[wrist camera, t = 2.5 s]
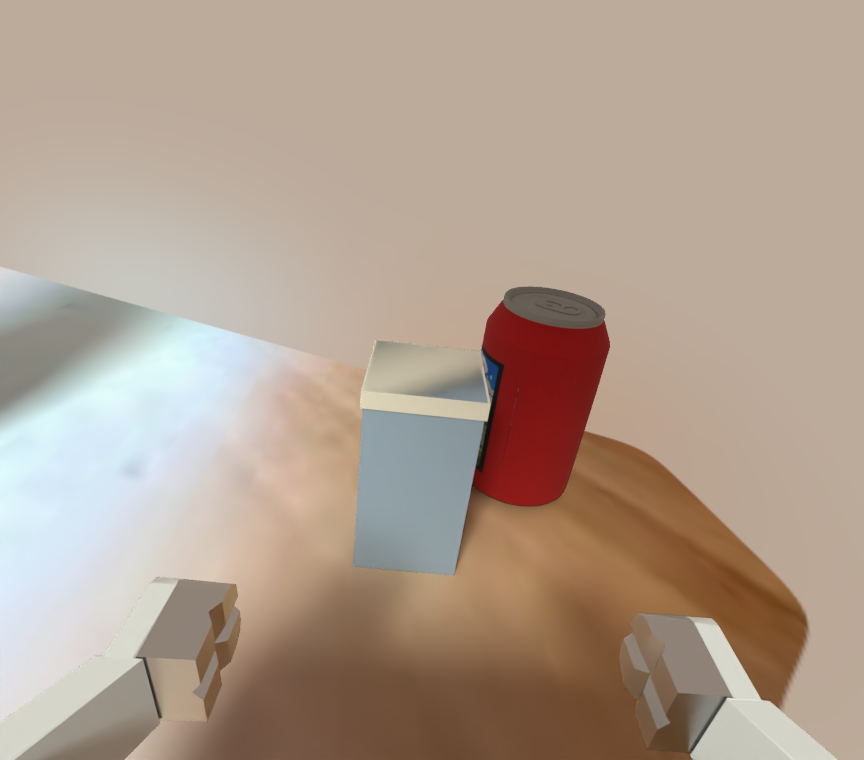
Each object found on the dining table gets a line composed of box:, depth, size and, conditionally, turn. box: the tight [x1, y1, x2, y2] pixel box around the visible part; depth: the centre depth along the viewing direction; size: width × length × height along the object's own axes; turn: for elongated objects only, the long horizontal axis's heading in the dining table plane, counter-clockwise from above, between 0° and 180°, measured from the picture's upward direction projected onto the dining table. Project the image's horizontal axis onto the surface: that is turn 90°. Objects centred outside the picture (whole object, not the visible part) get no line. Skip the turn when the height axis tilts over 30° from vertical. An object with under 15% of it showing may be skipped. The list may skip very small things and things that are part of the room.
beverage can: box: [472, 287, 610, 506], centre depth 29 cm, size 7×7×12 cm
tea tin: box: [353, 340, 491, 575], centre depth 24 cm, size 5×5×10 cm
